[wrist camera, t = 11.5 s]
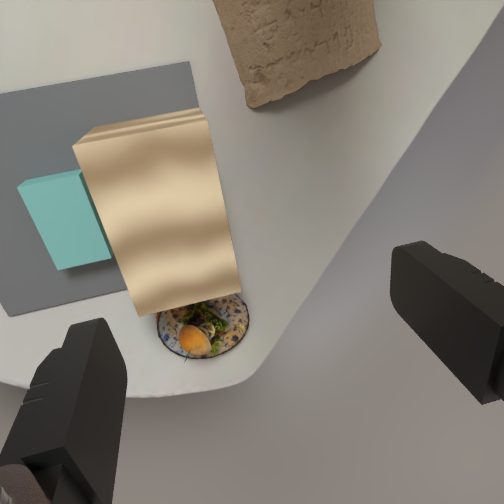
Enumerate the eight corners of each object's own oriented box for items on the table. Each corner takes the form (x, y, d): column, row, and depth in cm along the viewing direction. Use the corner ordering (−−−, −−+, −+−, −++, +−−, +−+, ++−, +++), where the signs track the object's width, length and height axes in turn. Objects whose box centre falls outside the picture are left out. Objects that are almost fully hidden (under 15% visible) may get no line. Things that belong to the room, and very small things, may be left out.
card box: (78, 174, 33) (84, 168, 35) (16, 187, 33) (26, 179, 35) (111, 258, 38) (114, 247, 40) (57, 270, 37) (63, 258, 39)
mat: (-114, 113, 30) (-117, 114, 30) (188, 61, 33) (189, 61, 33) (9, 314, 41) (8, 316, 41) (230, 262, 44) (231, 264, 44)
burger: (240, 349, 51) (250, 391, 45) (154, 351, 48) (152, 396, 42) (253, 277, 46) (267, 312, 40) (158, 274, 43) (156, 312, 37)
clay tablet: (244, 112, 37) (250, 116, 34) (194, -15, 31) (196, -22, 29) (388, 43, 37) (405, 42, 34) (363, -97, 31) (381, -112, 28)
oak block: (94, 126, 34) (72, 146, 26) (198, 107, 35) (207, 120, 27) (144, 269, 42) (138, 316, 34) (228, 249, 43) (241, 291, 35)
